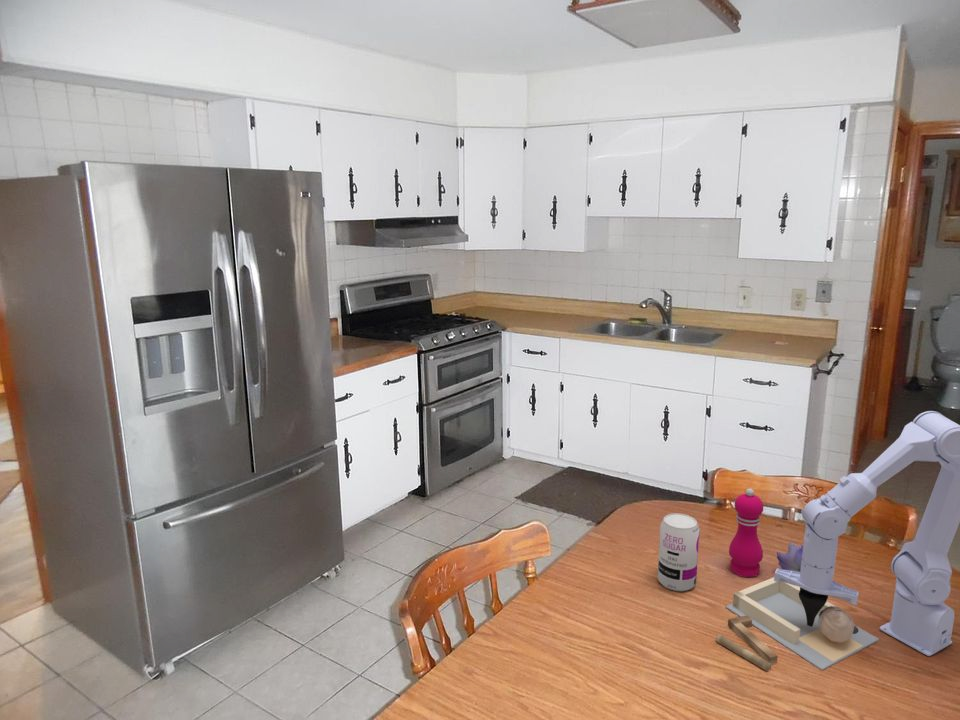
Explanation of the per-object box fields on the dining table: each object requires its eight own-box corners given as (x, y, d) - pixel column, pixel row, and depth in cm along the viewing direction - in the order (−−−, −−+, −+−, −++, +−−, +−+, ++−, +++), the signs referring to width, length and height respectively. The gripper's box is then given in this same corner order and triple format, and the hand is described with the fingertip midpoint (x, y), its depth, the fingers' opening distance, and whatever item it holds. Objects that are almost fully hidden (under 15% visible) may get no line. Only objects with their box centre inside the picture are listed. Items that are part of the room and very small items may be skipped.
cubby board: (879, 640, 130) (881, 626, 129) (821, 670, 122) (823, 655, 121) (780, 584, 148) (781, 572, 148) (725, 607, 141) (726, 594, 140)
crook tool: (789, 660, 125) (790, 652, 125) (769, 665, 124) (770, 657, 123) (746, 622, 136) (746, 615, 136) (727, 626, 135) (728, 619, 134)
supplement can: (691, 573, 153) (695, 512, 150) (699, 593, 146) (703, 530, 142) (655, 571, 154) (658, 511, 151) (660, 592, 146) (664, 529, 143)
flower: (833, 569, 143) (808, 531, 150) (795, 583, 144) (772, 545, 151) (835, 587, 148) (810, 551, 156) (798, 601, 149) (776, 564, 157)
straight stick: (768, 663, 121) (765, 671, 121) (772, 662, 122) (769, 671, 122) (715, 633, 130) (713, 641, 130) (720, 633, 131) (717, 641, 131)
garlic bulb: (806, 629, 131) (816, 593, 129) (830, 624, 134) (840, 588, 132) (835, 652, 126) (845, 615, 123) (859, 645, 128) (870, 609, 126)
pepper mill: (764, 580, 150) (770, 496, 145) (729, 576, 152) (734, 494, 147) (758, 563, 157) (764, 483, 152) (726, 560, 159) (730, 481, 154)
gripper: (863, 563, 128) (855, 626, 132) (782, 541, 137) (776, 601, 140) (859, 580, 123) (849, 645, 126) (774, 556, 131) (767, 618, 134)
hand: (810, 623), depth 133 cm, fingers closed
